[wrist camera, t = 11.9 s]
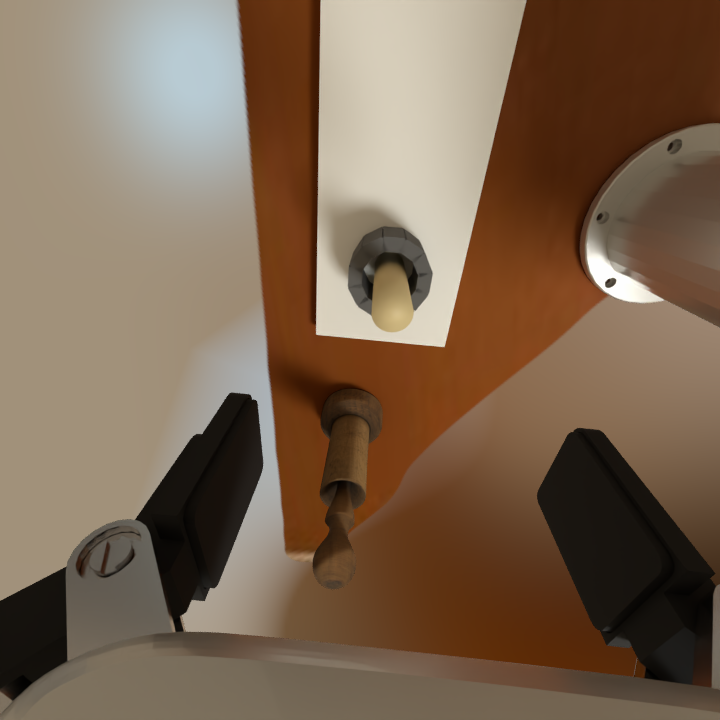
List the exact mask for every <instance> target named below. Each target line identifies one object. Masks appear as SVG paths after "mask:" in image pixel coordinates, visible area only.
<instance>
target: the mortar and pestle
mask: <svg viewBox="0 0 720 720" xmlns="http://www.w3.org/2000/svg"><path fill="white" fill-rule="evenodd" d="M321 428H322V430H323V432H324V434H325V435H326V436H327V437H328V438H329V439H330V442H329V448H328V453H327V458H326V463H325V469H324V474H323V479H322V484H321V489H320V497H321V500H322V501H323V503H324V504H326V505H327V506H329V509H328V512H327V514H326V518H325V522H326V524H327V525H328V526H329V528H330V531H329V533H328V536H327V537H326V539H325V540H324V541H323V542H322V543H321V545H320V546H319V547H318V549H317V550H316V552H315V554H314V558H313V572H314V575H315V578H316V579H317V581H318V582H319V584H321V585H322V586H323V587H325V588H328V589H339V588H342V587H344V586H345V585H347V584H348V583H349V582H350V580H351V579H352V577H353V575H354V572H355V569H356V557H355V554H354V551H353V549H352V546H351V544H350V542H349V540H348V531H349V529H351V528H352V527H353V525H354V512H353V509H355V508H358V507H359V506H361V505H362V504H363V502H364V501H365V497H366V476H367V457H368V444H369V443H371V442H372V441H374V440H375V439H376V438H377V437H378V435H379V434H380V432H381V429H382V407H381V405H380V403H379V401H378V400H377V399H376V398H375V397H374V396H373V395H371V394H370V393H368V392H365V391H363V390H359V389H343V390H339V391H337V392H335V393H333V394H332V395H331V396H329V397H328V399H327V400H326V402H325V404H324V407H323V411H322V415H321Z"/></svg>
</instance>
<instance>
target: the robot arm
mask: <svg viewBox="0 0 720 720" xmlns="http://www.w3.org/2000/svg"><path fill="white" fill-rule="evenodd" d="M599 214H600V215H599ZM598 215H599V217H598V218H597V216H598ZM580 257H581V263H582V266H583V268H584V271H585V273H586V275H587V277H588V278H589V279H590V281H591V282H592V283H593V284H594V285H595V286H596V287H597V288H599V289H600V290H601V291H602V292H604V293H606V294H608V295H609V296H611V297H613V298H615V299H618V300H622V301H625V302H631V303H654V302H660V301H664V300H666V301H668V302H670V303H672V304H674V305H676V306H678V307H680V308H682V309H684V310H686V311H688V312H690V313H692V314H694V315H696V316H698V317H700V318H702V319H704V320H706V321H708V322H710V323H712V324H714V325H716V326H718V327H720V123H709V124H702V125H695V126H689V127H686V128H683V129H679V130H676V131H673V132H670V133H668V134H666V135H664V136H662V137H660V138H658V139H656V140H654V141H652V142H650V143H649V144H647V145H646V146H644V147H643V148H641V149H640V150H639V151H637V152H636V153H634V154H633V155H632V156H630V157H629V158H628V159H627V160H626V161H625V162H624V163H623V164H622V165H621V166H619V167H618V168H617V169H616V170H615V171H614V173H613V174H612V175H611V176H610V177H609V179H608V180H607V181H606V182H605V183H604V185H603V186H602V187H601V189H600V190H599V192H598V194H597V195H596V197H595V198H594V200H593V202H592V203H591V206H590V208H589V210H588V213H587V215H586V217H585V219H584V223H583V227H582V231H581V235H580ZM262 469H263V456H262V445H261V434H260V424H259V414H258V404H257V401H256V400H252V397H251V395H249V394H240V393H230V394H229V395H228V396H227V397H226V399H225V401H224V402H223V404H222V405H221V407H220V408H219V410H218V411H217V413H216V414H215V416H214V417H213V419H212V420H211V422H210V424H209V425H208V426H207V428H206V429H205V431H204V432H203V434H196V435H194V436H193V438H191V440H190V441H189V442H188V444H187V445H186V447H185V448H184V450H183V451H182V453H181V454H180V455H179V457H178V458H177V460H176V461H175V463H174V464H173V466H172V467H171V468H170V470H169V471H168V473H167V474H166V476H165V477H164V479H163V480H162V482H161V483H160V485H159V486H158V487H157V489H156V490H155V492H154V493H153V494H152V496H151V497H150V499H149V500H148V502H147V503H146V505H145V506H144V508H143V509H142V511H141V512H140V513H139V515H138V516H137V518H136V519H135V520H131V519H127V520H118V521H115V522H112V523H109V524H106V525H104V526H102V527H100V528H99V529H97V530H95V531H93V532H92V533H91V534H90V535H88V536H87V537H86V538H85V539H83V540H82V541H81V543H80V544H79V545H78V546H77V547H76V548H75V549H74V551H73V552H72V554H71V556H70V558H69V560H68V562H67V567H65V568H63V569H61V570H59V571H57V572H55V573H53V574H51V575H49V576H47V577H46V578H44V579H42V580H40V581H38V582H36V583H34V584H32V585H30V586H28V587H26V588H24V589H22V590H20V591H18V592H17V593H15V594H13V595H11V596H9V597H7V598H5V599H3V600H1V601H0V720H720V585H718V586H715V584H714V583H713V582H712V580H711V579H710V578H711V577H712V576H713V575H714V574H715V573H714V571H713V570H712V569H711V567H710V566H709V565H708V564H707V562H706V561H705V560H704V559H703V557H702V556H701V555H700V554H699V552H698V551H697V550H696V549H695V547H694V546H693V545H692V544H691V542H690V541H689V540H688V539H687V537H686V536H685V535H684V533H683V532H682V531H681V530H680V528H679V527H678V526H677V525H676V523H675V522H674V521H673V520H672V518H671V517H670V516H669V515H668V513H667V512H666V511H665V510H664V508H663V507H662V506H661V505H660V503H659V502H658V501H657V500H656V498H655V497H654V496H653V495H652V493H650V491H649V489H648V488H647V487H646V486H645V485H644V483H643V482H642V481H641V479H640V478H639V477H638V476H637V474H636V473H635V472H634V471H633V469H632V468H631V467H630V466H629V465H628V463H627V462H626V461H625V459H624V458H623V457H622V456H621V454H620V453H619V452H618V451H617V449H616V448H615V447H614V446H613V444H612V443H611V442H610V441H609V439H608V438H607V437H606V435H605V434H604V433H603V432H601V431H600V430H594V429H584V428H577V429H575V430H574V432H571V433H569V434H568V435H567V437H566V439H565V441H564V443H563V445H562V447H561V449H560V450H559V452H558V454H557V456H556V458H555V460H554V462H553V464H552V465H551V467H550V469H549V471H548V473H547V475H546V477H545V479H544V481H543V482H542V484H541V486H540V488H539V490H538V493H537V499H538V503H539V505H540V507H541V510H542V512H543V514H544V516H545V519H546V521H547V523H548V526H549V528H550V530H551V532H552V535H553V537H554V539H555V541H556V544H557V546H558V547H559V550H560V553H561V555H562V557H563V559H564V562H565V564H566V566H567V568H568V571H569V573H570V575H571V577H572V580H573V582H574V584H575V586H576V588H577V591H578V593H579V595H580V597H581V600H582V602H583V604H584V606H585V609H586V611H587V613H588V615H589V618H590V620H591V622H592V624H593V625H594V626H595V628H596V629H598V630H600V632H601V634H602V636H603V638H604V640H605V643H606V645H609V646H617V647H626V648H629V647H630V646H632V648H633V650H634V651H635V654H636V655H637V661H636V667H635V672H634V677H629V676H620V675H612V674H602V673H594V672H585V671H577V670H569V669H560V668H552V667H543V666H534V665H525V664H517V663H508V662H499V661H490V660H481V659H472V658H463V657H454V656H445V655H436V654H427V653H418V652H409V651H400V650H391V649H381V648H371V647H362V646H352V645H343V644H334V643H324V642H315V641H305V640H296V639H285V638H274V637H263V636H251V635H239V634H227V633H211V632H186V631H185V627H184V623H183V619H182V615H183V614H184V613H186V611H187V609H188V607H189V605H190V602H191V600H199V601H205V599H206V596H207V594H208V591H209V589H210V588H215V587H216V586H217V585H218V583H219V581H220V578H221V576H222V573H223V571H224V568H225V565H226V563H227V560H228V558H229V555H230V553H231V550H232V547H233V545H234V542H235V540H236V537H237V535H238V532H239V530H240V527H241V524H242V522H243V519H244V517H245V514H246V512H247V509H248V507H249V504H250V501H251V499H252V496H253V494H254V491H255V489H256V486H257V484H258V481H259V478H260V476H261V473H262Z"/></svg>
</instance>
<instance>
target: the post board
mask: <svg viewBox="0 0 720 720" xmlns="http://www.w3.org/2000/svg"><path fill="white" fill-rule="evenodd" d="M526 1H527V0H321V6H320V80H319V154H318V228H317V302H316V335H325V336H336V337H346V338H356V339H367V340H377V341H387V342H398V343H408V344H418V345H429V346H439V347H445V343H446V339H447V334H448V330H449V326H450V322H451V317H452V313H453V309H454V305H455V301H456V296H457V292H458V288H459V284H460V279H461V275H462V271H463V267H464V263H465V258H466V254H467V250H468V246H469V241H470V237H471V233H472V229H473V224H474V220H475V216H476V212H477V208H478V203H479V199H480V195H481V191H482V186H483V182H484V178H485V174H486V170H487V165H488V161H489V157H490V153H491V148H492V144H493V140H494V136H495V132H496V127H497V123H498V119H499V115H500V110H501V106H502V102H503V98H504V93H505V89H506V85H507V81H508V77H509V72H510V68H511V64H512V60H513V55H514V51H515V47H516V43H517V39H518V34H519V30H520V26H521V22H522V17H523V13H524V9H525V5H526ZM383 226H387V227H399V228H403V229H405V230H407V231H408V232H409V233H411V234H412V235H413V236H415V237H416V238H417V239H419V241H420V242H421V245H422V247H423V249H424V251H425V254H426V256H427V259H428V261H429V264H430V267H431V269H432V272H433V276H432V281H431V286H430V292H429V294H428V297H427V298H426V299H425V300H424V301H423V303H422V304H421V305H420V306H419V307H418V309H417V310H416V311H415V310H413V305H412V300H411V295H410V290H409V285H408V278H409V277H410V276H411V274H412V270H413V262H412V261H411V260H409V259H408V258H407V257H405V256H404V255H403V254H401V253H395V252H383V253H381V254H379V255H377V256H375V257H373V258H371V259H370V261H369V262H368V263H367V265H366V266H365V268H364V271H365V273H366V275H367V277H368V279H369V281H370V282H371V283H373V284H374V285H373V298H372V313H371V314H372V316H371V315H370V314H368V313H367V312H365V311H364V310H362V309H361V308H359V307H358V305H356V303H355V301H354V299H353V297H352V295H351V293H350V291H349V289H348V270H349V264H350V261H351V258H352V254H353V252H354V250H355V249H356V247H357V246H358V244H359V242H360V241H361V239H362V238H363V236H365V235H366V234H368V233H370V232H372V231H374V230H376V229H378V228H380V227H383Z"/></svg>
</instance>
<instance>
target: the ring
mask: <svg viewBox="0 0 720 720" xmlns="http://www.w3.org/2000/svg"><path fill="white" fill-rule="evenodd" d="M383 252H395V253H401V254H403V255H404V256H405V257H407V258H408V259H409V260H411V261H412V262H413V270H412V274H411V276H410V277H409V278H408V285H409V290H410V295H411V300H412V305H413V310H415V311H416V310H417V309H418V307H419V306H420V305H421V304H422V303H423V301H424V300H425V299H426V298H427V297H428V294H429V292H430V286H431V281H432V276H433V272H432V269H431V267H430V264H429V261H428V259H427V256H426V254H425V251H424V249H423V247H422V245H421V242H420V241H419V239H417V238H416V237H415V236H413V235H412V234H411V233H409V232H408V231H407V230H405V229H403V228H399V227H387V226H383V227H380V228H378V229H376V230H374V231H372V232H370V233H368V234H366V235H365V236H363V238H362V239H361V241H360V242H359V244H358V246H357V247H356V249H355V250H354V252H353V254H352V258H351V261H350V264H349V270H348V289H349V291H350V293H351V295H352V297H353V299H354V301H355V303H356V305H358V307H359V308H361V309H362V310H364V311H365V312H367V313H368V314H370V315H371V316H372V314H371V313H372V298H373V285H374V284H373V283H371V282H370V281H369V279H368V277H367V275H366V273H365V271H364V268H365V266H366V265H367V263H368V262H369V261H370V259H371V258H373V257H375V256H377V255H379V254H381V253H383Z"/></svg>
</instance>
